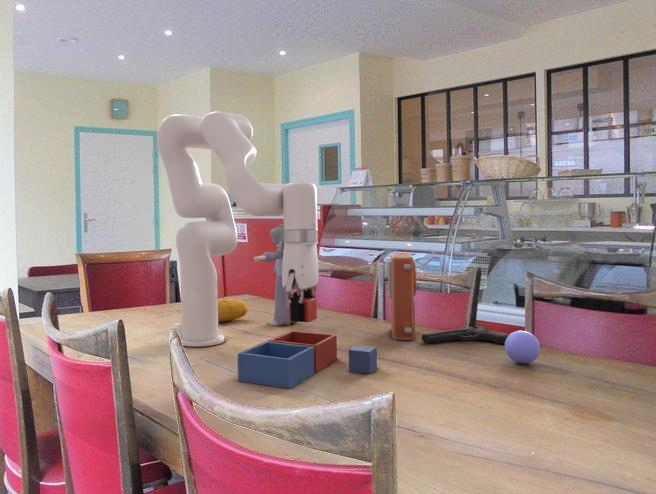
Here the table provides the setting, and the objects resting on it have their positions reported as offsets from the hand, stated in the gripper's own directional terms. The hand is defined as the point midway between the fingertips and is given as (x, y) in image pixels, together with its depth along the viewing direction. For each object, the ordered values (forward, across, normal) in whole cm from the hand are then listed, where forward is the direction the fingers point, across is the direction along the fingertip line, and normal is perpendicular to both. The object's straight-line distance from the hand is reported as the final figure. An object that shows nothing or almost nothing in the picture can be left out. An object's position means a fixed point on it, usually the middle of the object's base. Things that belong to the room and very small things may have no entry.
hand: (303, 318), depth 129 cm
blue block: (+10, 0, +14) cm, 17 cm away
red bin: (+10, 0, 0) cm, 10 cm away
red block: (0, 0, 0) cm, 0 cm away
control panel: (+10, -37, +12) cm, 40 cm away
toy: (+10, -38, -24) cm, 46 cm away
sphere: (+11, -20, +43) cm, 48 cm away
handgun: (+10, -35, +29) cm, 47 cm away
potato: (+10, -34, -42) cm, 55 cm away
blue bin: (+10, +12, 0) cm, 16 cm away
